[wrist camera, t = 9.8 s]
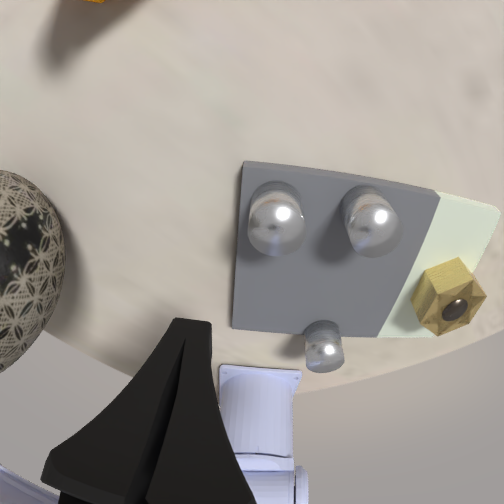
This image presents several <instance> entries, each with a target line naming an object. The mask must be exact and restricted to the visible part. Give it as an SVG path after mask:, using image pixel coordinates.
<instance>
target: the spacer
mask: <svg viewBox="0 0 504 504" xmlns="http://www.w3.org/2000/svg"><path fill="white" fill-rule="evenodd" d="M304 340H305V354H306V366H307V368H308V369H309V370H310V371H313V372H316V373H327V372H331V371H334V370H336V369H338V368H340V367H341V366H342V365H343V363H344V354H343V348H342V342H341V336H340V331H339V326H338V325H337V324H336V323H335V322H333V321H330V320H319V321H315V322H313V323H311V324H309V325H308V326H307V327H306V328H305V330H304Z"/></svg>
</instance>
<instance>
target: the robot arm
mask: <svg viewBox="0 0 504 504" xmlns="http://www.w3.org/2000/svg"><path fill="white" fill-rule="evenodd" d="M211 358H212V324H211V323H210V322H208V321H199V320H191V319H184V318H174V319H173V320H172V322H171V324H170V326H169V328H168V329H167V331H166V333H165V334H164V336H163V337H162V339H161V340H160V342H159V343H158V345H157V347H156V348H155V349H154V351H153V352H152V354H151V355H150V356H149V358H148V359H147V361H146V362H145V363H144V365H143V366H142V367H141V369H140V370H139V371H138V372H137V374H136V375H135V376H134V377H133V379H132V380H131V381H130V382H129V384H128V385H127V386H126V387H125V388H124V389H123V390H122V392H121V393H120V394H119V395H118V396H117V397H116V398H115V399H114V400H113V401H112V402H111V403H110V404H109V405H108V406H107V407H106V408H105V409H104V410H103V411H102V412H101V413H100V414H98V415H97V416H96V417H95V418H94V419H93V420H92V421H90V422H89V423H88V424H87V425H86V426H84V427H83V428H82V429H81V430H80V431H78V432H77V433H76V434H74V435H73V436H72V437H70V438H69V439H67V440H66V441H64V442H63V443H61V444H60V445H58V446H57V447H55V448H54V449H52V450H51V451H50V453H49V456H48V458H47V460H46V462H45V465H44V469H43V472H42V476H41V481H42V482H43V483H45V484H47V485H49V486H51V487H53V488H55V489H58V490H60V491H61V492H60V496H58V495H56V494H54V493H52V492H50V491H48V490H45V489H43V488H41V487H39V486H37V485H35V484H34V483H32V482H30V481H28V480H26V479H24V478H22V477H20V476H19V475H17V474H15V473H13V472H12V471H10V470H8V469H7V468H5V467H3V466H2V465H1V464H0V504H308V473H307V471H306V470H305V469H303V467H302V466H296V475H295V486H294V458H293V418H292V417H293V413H292V412H293V410H292V398H293V396H294V394H295V391H296V389H297V387H298V384H299V382H300V380H301V377H302V372H301V371H300V370H284V369H269V368H256V367H244V366H234V365H221V366H220V369H219V406H220V407H221V408H220V410H219V406H218V402H217V398H216V393H215V388H214V383H213V377H212V370H211Z"/></svg>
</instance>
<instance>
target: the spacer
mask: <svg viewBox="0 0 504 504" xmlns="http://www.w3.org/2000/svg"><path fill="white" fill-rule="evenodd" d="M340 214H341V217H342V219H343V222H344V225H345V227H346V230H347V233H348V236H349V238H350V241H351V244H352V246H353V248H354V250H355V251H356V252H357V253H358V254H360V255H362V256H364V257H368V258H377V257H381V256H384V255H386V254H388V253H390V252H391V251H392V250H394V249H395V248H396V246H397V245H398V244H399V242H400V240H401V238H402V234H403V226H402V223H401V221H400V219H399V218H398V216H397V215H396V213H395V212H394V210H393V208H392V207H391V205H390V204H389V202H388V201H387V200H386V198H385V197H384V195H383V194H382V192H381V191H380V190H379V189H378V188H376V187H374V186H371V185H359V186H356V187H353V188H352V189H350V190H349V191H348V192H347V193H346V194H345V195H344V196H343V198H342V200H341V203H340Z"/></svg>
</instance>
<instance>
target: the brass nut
mask: <svg viewBox="0 0 504 504" xmlns="http://www.w3.org/2000/svg"><path fill="white" fill-rule="evenodd" d="M486 297H487V296H486V294H485V292H484V291H483V289H482V287H481V286H480V284H479V283H478V281H477V279H476V278H475V276H474V275H473V273H472V272H471V271H470V270H469V269H468V267H467V266H466V265H465V264H464V263H463V261H462V260H461V259H460V258H459V257H457V258H454V259H452V260H449V261H447V262H444V263H442V264H439V265H436V266H434V267H431V268H429V269H426V270H425V271H424V273H423V275H422V277H421V279H420V281H419V283H418V285H417V287H416V289H415V291H414V293H413V295H412V297H411V299H410V301H411V303H412V305H413V308H414V310H415V313H416V315H417V318H418V320H419V323H420V324H421V325H422V326H424V327H425V328H426V329H428V330H429V331H431V332H432V333H433V334H435V335H436V336H440V335H442V334H445V333H447V332H450V331H452V330H455V329H457V328H459V327H462V326H464V325H466V324H469V323H470V321H471V320H472V318H473V317H474V315H475V314H476V312H477V311H478V309H479V308H480V306H481V305H482V303H483V302H484V300H485V298H486Z"/></svg>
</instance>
